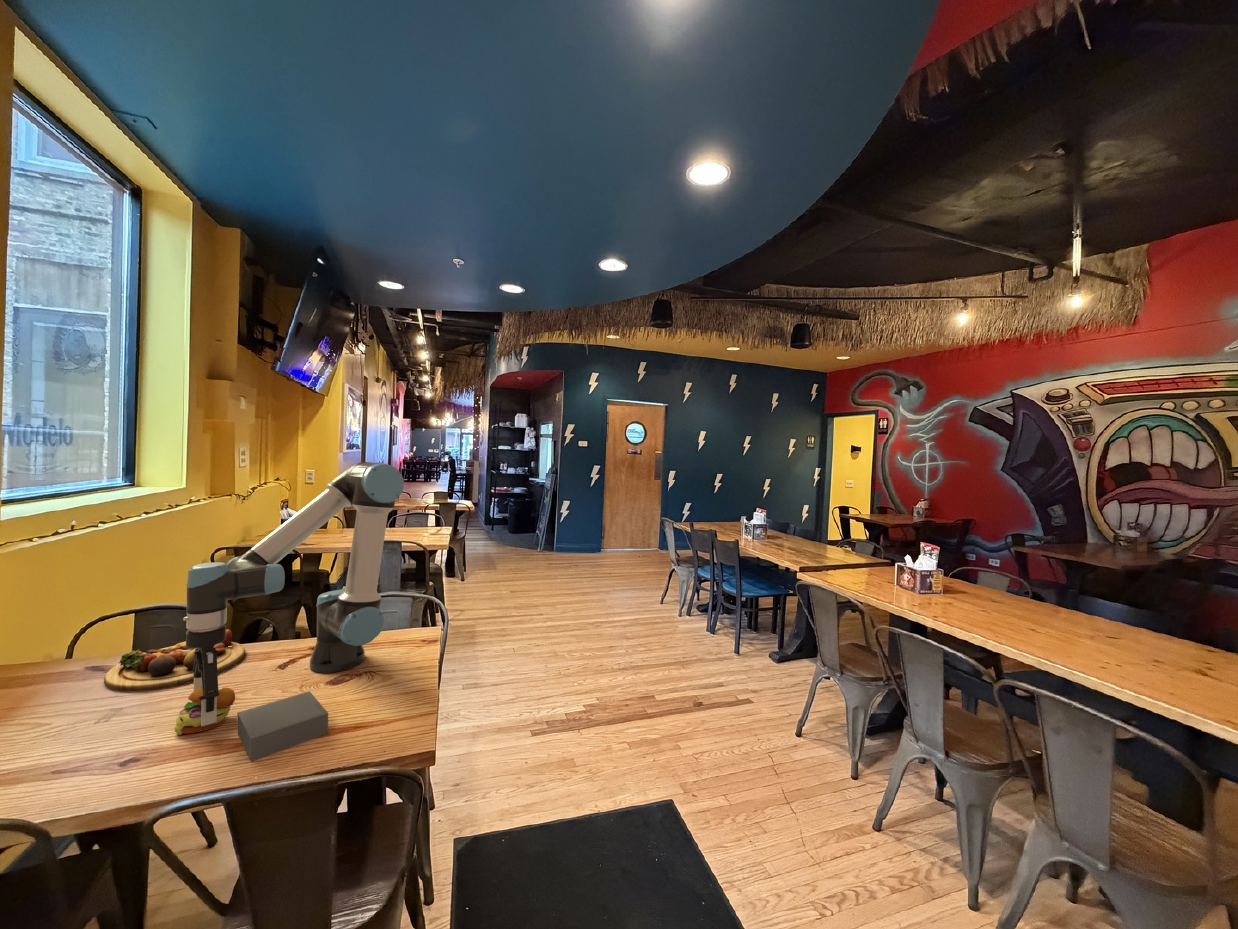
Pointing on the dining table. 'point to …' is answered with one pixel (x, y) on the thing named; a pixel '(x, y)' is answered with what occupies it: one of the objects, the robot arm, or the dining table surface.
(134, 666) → the wooden plate with food
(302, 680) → the dining table surface
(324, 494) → the robot arm
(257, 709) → the tray
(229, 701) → the cheeseburger
